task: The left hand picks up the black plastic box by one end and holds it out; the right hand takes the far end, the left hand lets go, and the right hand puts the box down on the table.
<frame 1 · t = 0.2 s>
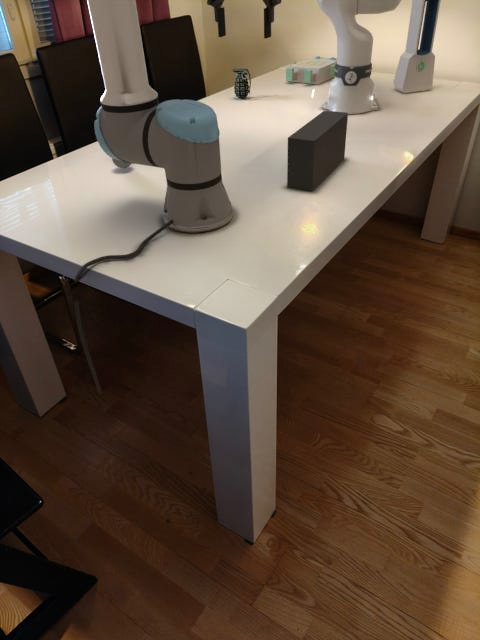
left hand: (244, 37, 129), 28 cm above the table, tool pointing down, fingers open, 13 cm apart
box: (317, 172, 125), on the table
molecular model: (146, 154, 142), on the table
grenade: (242, 98, 187), on the table
decorative block: (313, 78, 207), on the table
electronic device: (411, 90, 185), on the table
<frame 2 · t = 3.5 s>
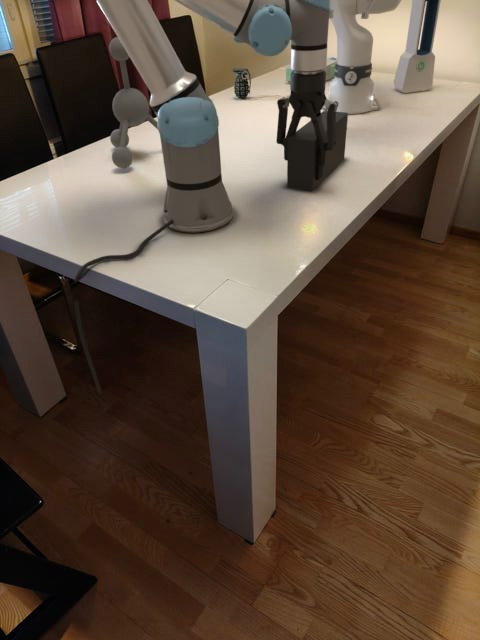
left hand: (304, 175, 117), 2 cm above the table, tool pointing down, fingers closed on box, 6 cm apart
right hand: (346, 18, 126), 31 cm above the table, tool pointing down, fingers open, 8 cm apart
box: (317, 172, 125), on the table, touching left hand
everything else where it was.
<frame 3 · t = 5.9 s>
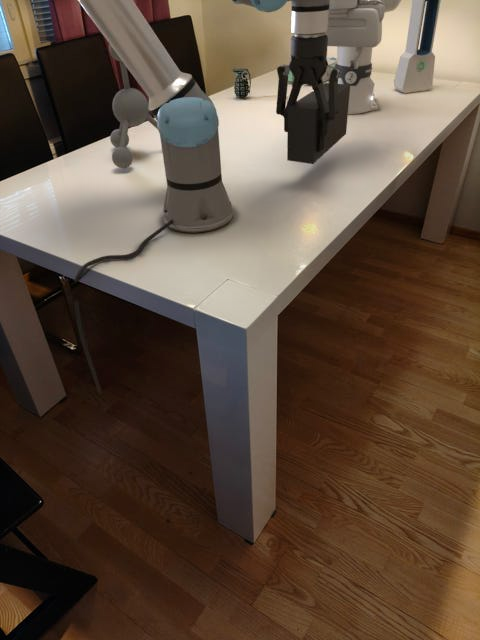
left hand: (305, 147, 113), 9 cm above the table, tool pointing down, fingers closed on box, 6 cm apart
right hand: (334, 67, 117), 23 cm above the table, tool pointing down, fingers open, 8 cm apart
box: (318, 146, 121), point 7 cm above the table, touching left hand
everything else where it was.
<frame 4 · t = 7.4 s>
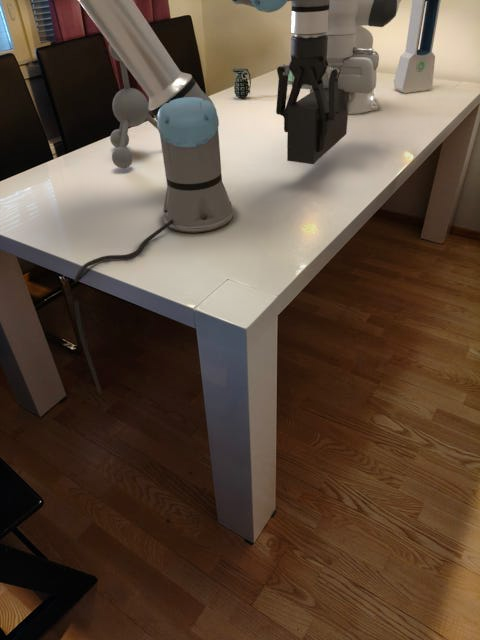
left hand: (305, 148, 113), 9 cm above the table, tool pointing down, fingers closed on box, 6 cm apart
right hand: (331, 109, 122), 13 cm above the table, tool pointing down, fingers closed on box, 6 cm apart
box: (318, 146, 121), point 7 cm above the table, touching left hand, right hand
everything else where it was.
when the left hand's fingers open (9 cm above the table, at t = 8.5 s): box stays where it is, held by the right hand.
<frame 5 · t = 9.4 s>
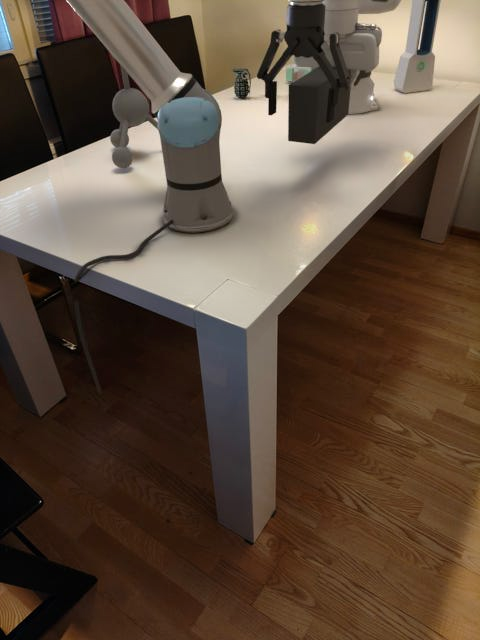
left hand: (300, 117, 108), 16 cm above the table, tool pointing down, fingers open, 13 cm apart
right hand: (333, 88, 120), 18 cm above the table, tool pointing down, fingers closed on box, 6 cm apart
box: (319, 127, 118), point 11 cm above the table, touching right hand
everything else where it was.
when the right hand's fingers open (8 cm above the table, at t = 17.7 s): box stays where it is, on the table.
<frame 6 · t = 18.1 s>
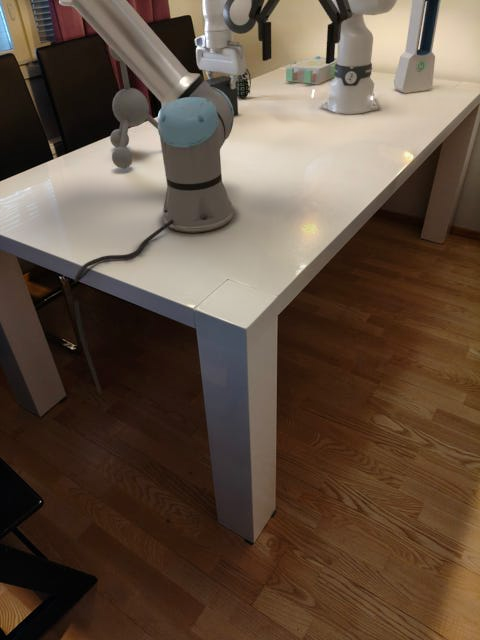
left hand: (297, 61, 97), 28 cm above the table, tool pointing down, fingers open, 13 cm apart
right hand: (222, 86, 164), 9 cm above the table, tool pointing down, fingers open, 8 cm apart
box: (207, 121, 165), on the table
everything else where it was.
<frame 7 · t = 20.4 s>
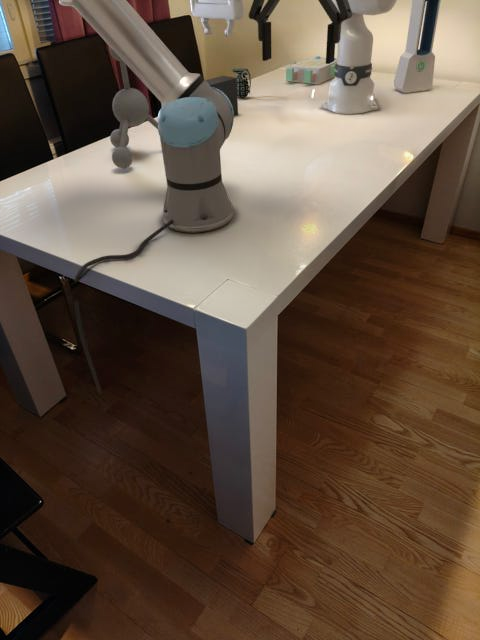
left hand: (297, 61, 97), 28 cm above the table, tool pointing down, fingers open, 13 cm apart
right hand: (218, 35, 154), 25 cm above the table, tool pointing down, fingers open, 8 cm apart
nothing on the table moved.
at the end: box inside the target area (7.8 cm from its centre), on the table; the left hand is holding nothing; the right hand is holding nothing; box at rest at the end (0.0 cm/s) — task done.
